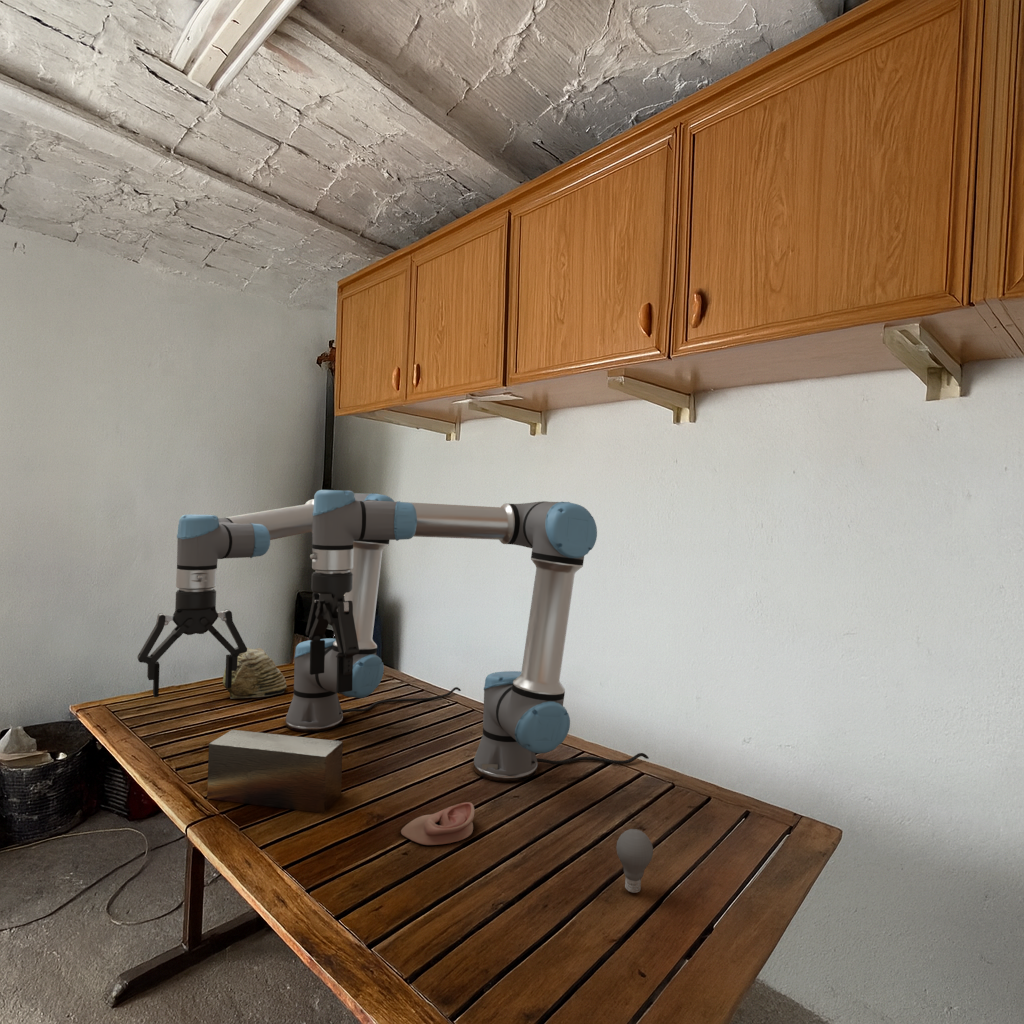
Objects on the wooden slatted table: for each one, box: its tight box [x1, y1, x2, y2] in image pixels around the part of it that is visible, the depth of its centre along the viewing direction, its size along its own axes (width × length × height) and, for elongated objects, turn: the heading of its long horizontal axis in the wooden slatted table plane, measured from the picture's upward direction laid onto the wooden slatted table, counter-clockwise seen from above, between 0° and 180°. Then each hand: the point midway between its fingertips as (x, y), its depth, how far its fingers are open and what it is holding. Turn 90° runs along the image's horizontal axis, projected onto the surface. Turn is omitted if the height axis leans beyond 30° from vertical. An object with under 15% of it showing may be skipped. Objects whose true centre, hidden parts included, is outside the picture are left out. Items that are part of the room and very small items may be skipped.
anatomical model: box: [400, 801, 476, 846], centre depth 122 cm, size 13×4×12 cm
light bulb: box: [615, 828, 654, 894], centre depth 106 cm, size 6×6×10 cm
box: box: [206, 729, 344, 814], centre depth 133 cm, size 26×8×12 cm, turn 81°
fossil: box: [222, 646, 288, 699], centre depth 198 cm, size 9×18×15 cm, turn 132°
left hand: (193, 690), depth 132 cm, fingers open, 13 cm apart
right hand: (330, 682), depth 121 cm, fingers open, 13 cm apart
